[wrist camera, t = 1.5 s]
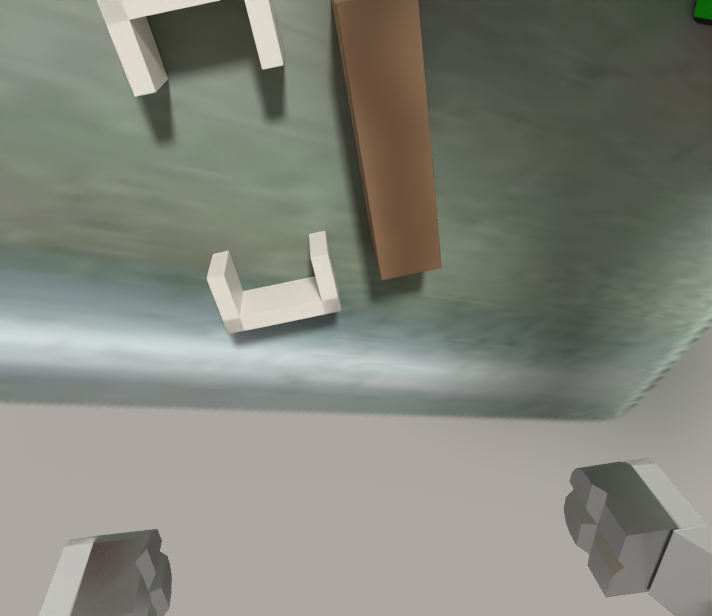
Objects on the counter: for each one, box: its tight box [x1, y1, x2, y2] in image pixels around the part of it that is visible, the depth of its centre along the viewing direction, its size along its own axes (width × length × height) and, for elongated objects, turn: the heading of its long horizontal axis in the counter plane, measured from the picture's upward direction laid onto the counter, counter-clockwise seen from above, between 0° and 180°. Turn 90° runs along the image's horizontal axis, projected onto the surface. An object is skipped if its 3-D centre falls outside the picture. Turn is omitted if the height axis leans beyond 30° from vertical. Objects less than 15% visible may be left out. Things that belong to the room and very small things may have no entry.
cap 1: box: [97, 0, 284, 97], centre depth 25 cm, size 7×4×3 cm, turn 100°
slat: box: [331, 0, 442, 280], centre depth 28 cm, size 4×14×4 cm, turn 10°
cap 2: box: [207, 231, 341, 334], centre depth 33 cm, size 7×4×3 cm, turn 100°
